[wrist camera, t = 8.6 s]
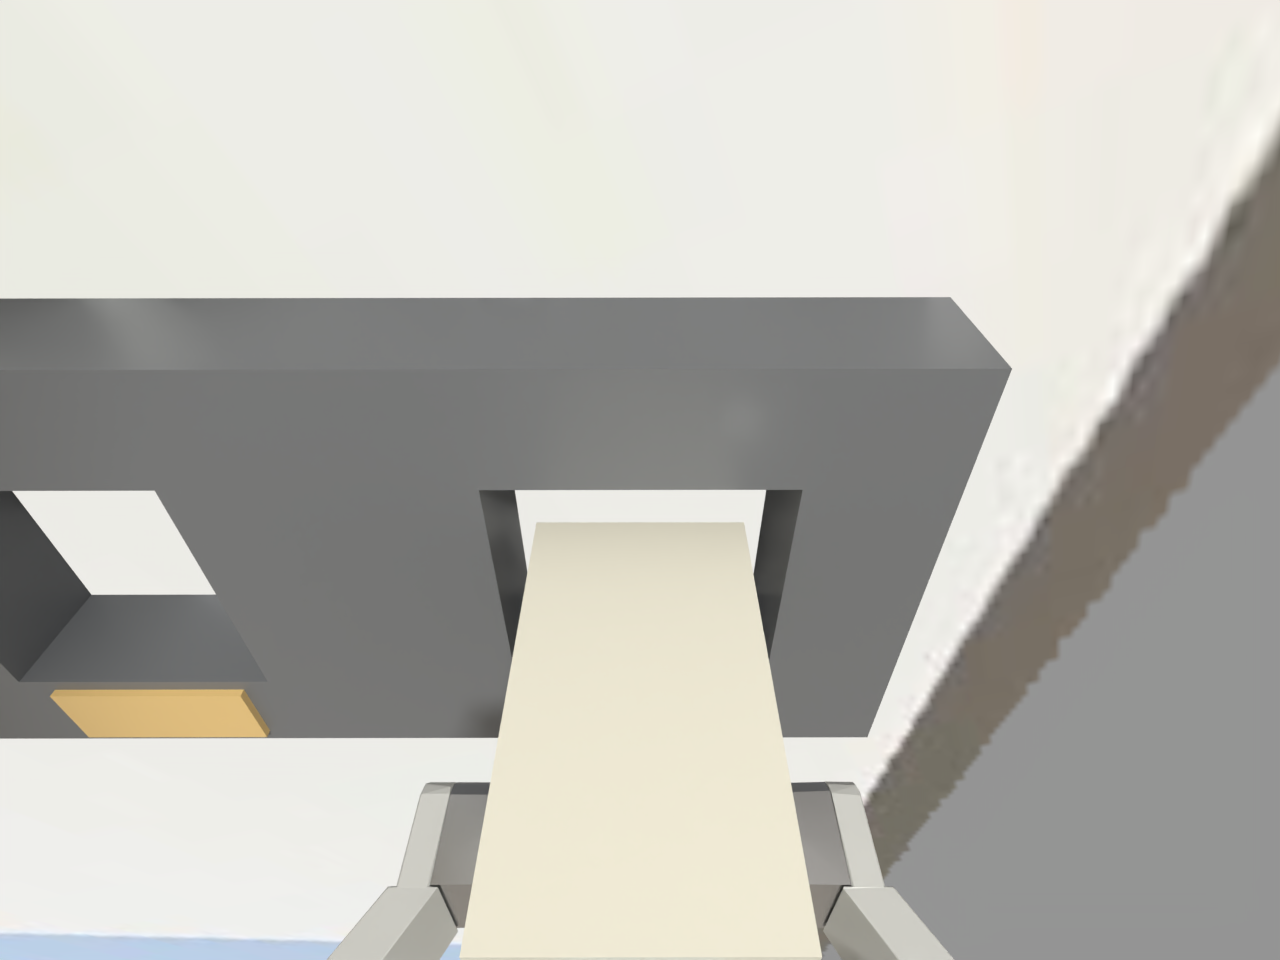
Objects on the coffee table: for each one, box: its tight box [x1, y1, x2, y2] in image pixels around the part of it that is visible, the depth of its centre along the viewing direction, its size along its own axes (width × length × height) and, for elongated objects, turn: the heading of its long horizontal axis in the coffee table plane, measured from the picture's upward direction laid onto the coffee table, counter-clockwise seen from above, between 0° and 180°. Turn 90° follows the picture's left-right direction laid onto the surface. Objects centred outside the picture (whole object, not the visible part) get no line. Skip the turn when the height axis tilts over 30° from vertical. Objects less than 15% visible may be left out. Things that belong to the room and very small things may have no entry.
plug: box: [459, 522, 822, 960], centre depth 12 cm, size 4×4×10 cm
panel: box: [0, 297, 1012, 739], centre depth 17 cm, size 12×26×3 cm, turn 90°
